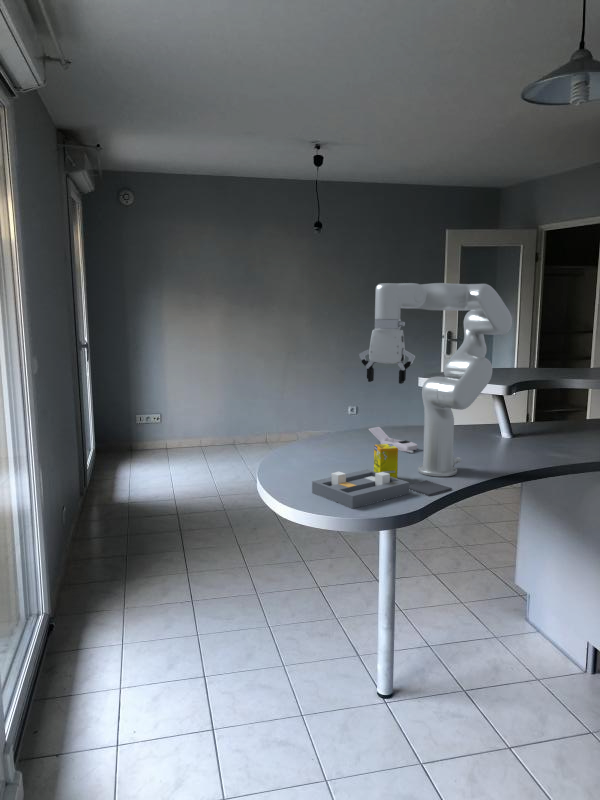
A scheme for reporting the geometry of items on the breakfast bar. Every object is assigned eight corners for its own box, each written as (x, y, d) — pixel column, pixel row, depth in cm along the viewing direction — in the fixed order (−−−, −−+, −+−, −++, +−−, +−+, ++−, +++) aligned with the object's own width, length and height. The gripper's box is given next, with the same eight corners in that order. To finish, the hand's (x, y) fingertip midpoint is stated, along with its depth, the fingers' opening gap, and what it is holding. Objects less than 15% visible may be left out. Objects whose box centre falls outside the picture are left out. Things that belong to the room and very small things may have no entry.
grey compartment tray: (367, 480, 198) (367, 469, 198) (408, 493, 184) (409, 481, 184) (312, 492, 185) (312, 481, 185) (352, 508, 171) (352, 495, 171)
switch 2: (382, 483, 186) (382, 471, 186) (389, 486, 184) (389, 473, 183) (375, 485, 184) (375, 473, 184) (382, 488, 182) (382, 475, 182)
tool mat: (426, 482, 196) (426, 480, 196) (451, 489, 188) (451, 487, 188) (403, 488, 190) (403, 486, 190) (428, 496, 182) (428, 494, 182)
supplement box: (373, 477, 201) (373, 444, 199) (390, 476, 202) (391, 443, 201) (379, 482, 195) (380, 448, 194) (397, 481, 197) (398, 447, 195)
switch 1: (339, 483, 187) (339, 471, 186) (345, 485, 184) (345, 473, 184) (331, 485, 185) (331, 473, 184) (338, 487, 183) (338, 475, 182)
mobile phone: (378, 426, 255) (422, 436, 235) (378, 440, 256) (422, 452, 236) (366, 428, 252) (411, 439, 231) (367, 442, 253) (410, 454, 232)
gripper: (419, 325, 187) (417, 382, 189) (364, 324, 194) (363, 379, 197) (412, 326, 180) (410, 385, 183) (355, 325, 188) (354, 382, 190)
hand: (385, 382), depth 190 cm, fingers open, 9 cm apart
